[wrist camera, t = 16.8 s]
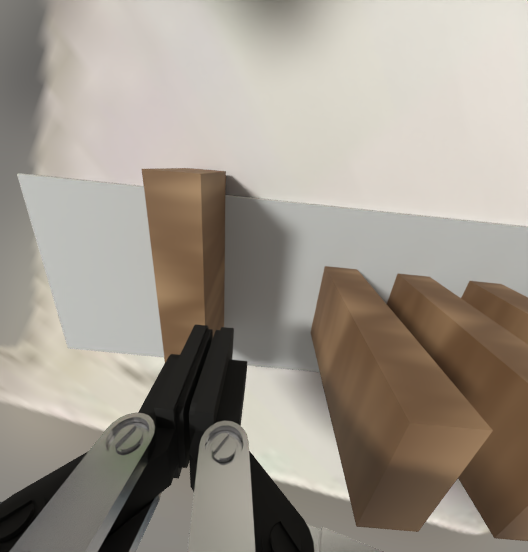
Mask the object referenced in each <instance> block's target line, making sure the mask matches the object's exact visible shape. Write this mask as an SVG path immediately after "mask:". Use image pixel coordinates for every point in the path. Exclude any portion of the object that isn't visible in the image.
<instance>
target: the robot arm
mask: <svg viewBox="0 0 528 552" xmlns="http://www.w3.org/2000/svg"><path fill="white" fill-rule="evenodd" d="M233 339H234V328H227V327H221V329H220V330H216V331H215V334H214V337H213V330H212V329H209V327H208V326H207V325H196V324H195V325H194V327H193V329H192V331H191V333H190V335H189V337H188V339H187V341H186V344H185V346H184V348H183V350H182V352H181V354H180V355H178V354H171V355H170V356H169V357H168V359H167V361H166V362H165V364H164V366H163V368H162V370H161V372H160V373H159V375H158V377H157V379H156V381H155V383H154V385H153V386H152V388H151V390H150V392H149V394H148V396H147V398H146V399H145V401H144V403H143V405H142V407H141V409H140V410H139V412H138V413H132V414H128V415H125V416H123V417H120V418H119V419H117V420H116V421H115V422H113V423H112V424H111V425H110V426H109V427H108V428H107V429H106V430H105V432H104V433H103V434H102V435H101V437H100V438H99V439H98V440H97V442H96V443H95V444H94V445H93V447H92V448H91V449H90V450H89V451H88V452H87V453H85V454H83V455H81V456H80V457H78V458H76V459H74V460H73V461H71V462H69V463H67V464H66V465H64V466H62V467H60V468H59V469H57V470H55V471H53V472H52V473H50V474H49V475H47V476H45V477H43V478H41V479H40V480H38V481H36V482H34V483H33V484H31V485H29V486H27V487H26V488H24V489H22V490H21V491H19V492H17V493H15V494H14V495H12V496H11V497H9V498H8V499H6V500H5V501H3V502H0V552H136V550H137V548H138V546H139V544H140V542H141V539H142V537H143V535H144V533H145V531H146V528H147V526H148V524H149V522H150V520H151V518H152V515H153V513H154V511H155V509H156V507H157V505H158V502H159V500H160V497H161V494H162V491H164V490H165V489H166V488H167V487H169V486H170V485H171V483H172V480H173V478H179V476H180V473H181V469H182V467H183V468H187V466H188V464H189V460H190V480H191V488H192V489H193V492H194V498H193V507H192V515H191V524H190V533H189V542H188V551H187V552H383V551H381V550H378V549H376V548H373V547H371V546H368V545H366V544H364V543H361V542H358V541H356V540H354V539H351V538H349V537H346V536H344V535H341V534H339V533H336V532H334V531H331V530H329V529H326V528H324V527H322V528H321V530H320V529H318V528H315V527H312V526H310V525H307V524H306V523H305V521H304V519H303V518H302V517H301V516H300V514H299V513H298V512H297V511H296V509H295V508H294V507H293V505H292V504H291V503H290V502H289V501H288V499H287V498H286V497H285V495H284V494H283V493H282V491H281V490H280V489H279V488H278V486H277V485H276V484H275V483H274V481H273V480H272V479H271V478H270V476H269V475H268V474H267V473H266V471H265V470H264V469H263V468H262V466H261V465H260V464H259V462H258V461H257V460H256V459H255V457H254V456H253V455H252V454H251V452H250V451H249V442H248V437H247V434H246V432H245V431H244V429H243V428H242V427H241V426H240V425H241V417H242V409H243V400H244V392H245V382H246V372H247V361H242V360H232V356H233Z"/></svg>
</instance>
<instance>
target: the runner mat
mask: <svg viewBox="0 0 528 552" xmlns="http://www.w3.org/2000/svg"><path fill="white" fill-rule="evenodd" d="M17 176H18V179H19V183H20V186H21V190H22V193H23V196H24V200H25V203H26V207H27V210H28V213H29V217H30V220H31V224H32V227H33V231H34V234H35V237H36V241H37V244H38V248H39V251H40V254H41V258H42V261H43V265H44V268H45V271H46V275H47V278H48V282H49V285H50V288H51V292H52V295H53V299H54V302H55V306H56V309H57V312H58V316H59V319H60V323H61V326H62V329H63V333H64V336H65V340H66V343H67V346H68V348H70V349H81V350H91V351H102V352H112V353H123V354H134V355H144V356H155V357H164V351H163V342H162V334H161V326H160V317H159V309H158V300H157V292H156V284H155V275H154V267H153V259H152V250H151V242H150V234H149V225H148V217H147V209H146V200H145V192H144V186H136V185H126V184H117V183H107V182H98V181H88V180H79V179H69V178H59V177H50V176H40V175H31V174H17ZM325 266H329V267H339V268H349V269H357V270H358V271H359V272H360V273H361V274H362V276H363V277H364V278H365V279H366V280H367V282H368V283H369V284H370V285H371V286H372V287H373V289H374V290H375V291H376V292H377V293H378V295H379V296H380V297H381V298H382V299H383V301H384V302H385V303H386V304H387V302H388V299H389V296H390V293H391V290H392V288H393V285H394V282H395V279H396V276H397V273H399V274H408V275H418V276H428V277H431V278H432V279H434V280H435V281H437V282H438V283H440V284H441V285H442V286H444V287H445V288H447V289H448V290H450V291H451V292H453V293H454V294H455V295H457V296H458V297H460V298H461V297H462V295H463V293H464V291H465V289H466V287H467V285H468V283H469V281H478V282H487V283H497V284H503V285H505V286H506V287H508V288H510V289H512V290H514V291H516V292H518V293H520V294H522V295H524V296H526V297H528V227H526V226H516V225H507V224H497V223H487V222H478V221H468V220H459V219H449V218H440V217H430V216H421V215H411V214H402V213H392V212H383V211H373V210H364V209H354V208H345V207H335V206H326V205H316V204H307V203H297V202H288V201H278V200H269V199H259V198H250V197H240V196H231V195H225V290H224V327H227V328H234V339H233V356H232V360H242V361H247V365H250V366H261V367H271V368H282V369H292V370H303V371H314V372H320V371H319V367H318V362H317V358H316V354H315V350H314V346H313V341H312V337H311V333H310V332H311V328H312V323H313V318H314V314H315V309H316V304H317V300H318V295H319V291H320V286H321V281H322V277H323V272H324V267H325Z"/></svg>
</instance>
